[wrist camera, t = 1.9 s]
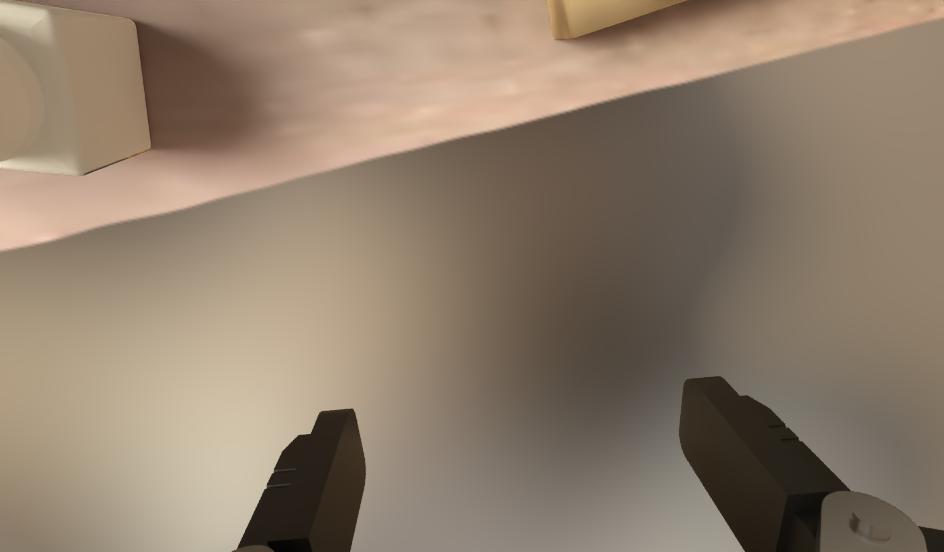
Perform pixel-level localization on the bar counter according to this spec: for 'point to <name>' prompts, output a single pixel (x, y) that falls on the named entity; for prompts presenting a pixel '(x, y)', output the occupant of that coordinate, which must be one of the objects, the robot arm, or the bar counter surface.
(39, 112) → the medicine bottle
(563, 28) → the serving board
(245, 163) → the bar counter surface
